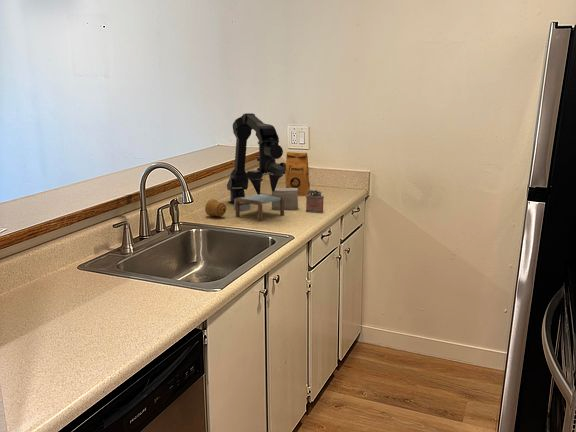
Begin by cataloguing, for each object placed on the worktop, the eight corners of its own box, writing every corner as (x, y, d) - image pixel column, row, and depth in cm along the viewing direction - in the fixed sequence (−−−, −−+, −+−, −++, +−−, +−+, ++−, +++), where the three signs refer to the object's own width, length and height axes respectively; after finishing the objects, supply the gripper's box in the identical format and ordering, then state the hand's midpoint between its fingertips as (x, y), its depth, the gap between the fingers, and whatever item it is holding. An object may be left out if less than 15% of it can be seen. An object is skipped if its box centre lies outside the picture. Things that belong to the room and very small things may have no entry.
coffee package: (306, 198, 282) (306, 154, 277) (282, 196, 286) (282, 152, 281) (312, 194, 291) (312, 151, 286) (289, 193, 295) (289, 150, 290)
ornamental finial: (204, 217, 242) (203, 200, 240) (216, 214, 248) (216, 197, 246) (218, 220, 237) (217, 202, 236) (230, 217, 243) (230, 200, 241)
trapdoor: (261, 204, 236) (261, 201, 235) (240, 200, 243) (240, 197, 243) (280, 199, 244) (280, 197, 244) (259, 195, 252) (259, 193, 252)
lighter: (324, 212, 253) (324, 190, 251) (322, 213, 250) (322, 191, 248) (307, 210, 256) (307, 188, 253) (304, 212, 253) (305, 190, 250)
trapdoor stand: (260, 221, 236) (260, 202, 234) (235, 216, 244) (235, 198, 243) (284, 215, 247) (284, 197, 245) (259, 210, 256) (259, 192, 254)
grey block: (298, 205, 261) (297, 187, 256) (298, 209, 258) (297, 191, 253) (271, 205, 261) (271, 187, 256) (271, 209, 258) (270, 191, 253)
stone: (234, 209, 257) (234, 198, 256) (242, 207, 261) (242, 197, 260) (242, 211, 254) (242, 200, 253) (250, 209, 258) (250, 198, 257)
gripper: (265, 160, 225) (265, 198, 229) (295, 155, 239) (294, 192, 243) (245, 157, 232) (245, 195, 236) (275, 153, 246) (275, 188, 250)
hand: (266, 192), depth 241 cm, fingers open, 9 cm apart
